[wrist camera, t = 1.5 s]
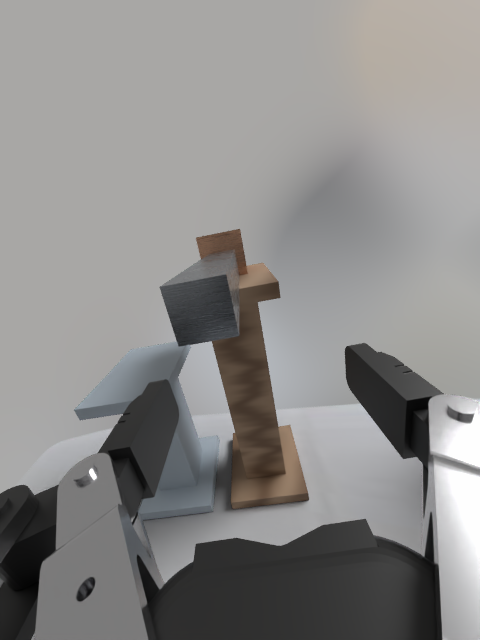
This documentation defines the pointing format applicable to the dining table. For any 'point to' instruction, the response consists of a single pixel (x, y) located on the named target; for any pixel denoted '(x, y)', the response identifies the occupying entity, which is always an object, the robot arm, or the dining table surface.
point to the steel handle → (208, 291)
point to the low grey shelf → (186, 448)
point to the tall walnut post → (256, 406)
